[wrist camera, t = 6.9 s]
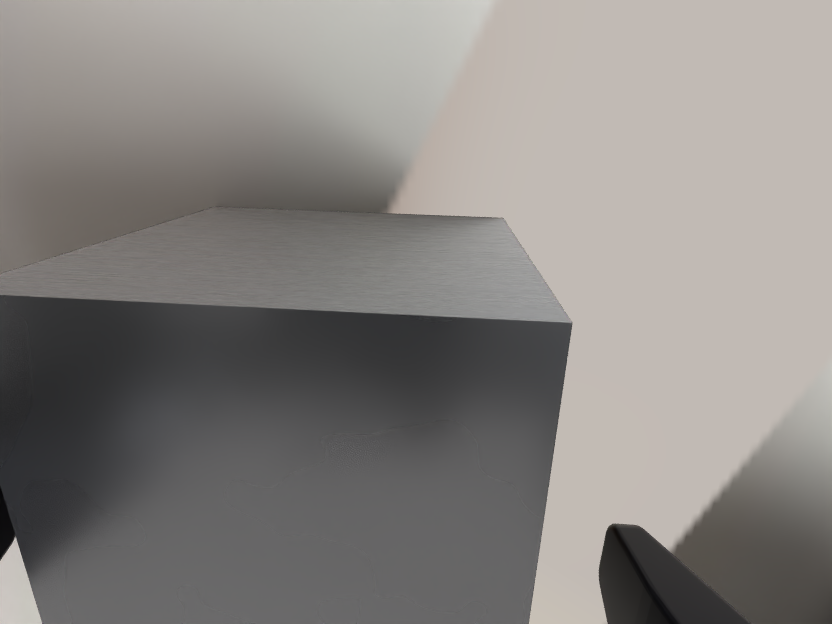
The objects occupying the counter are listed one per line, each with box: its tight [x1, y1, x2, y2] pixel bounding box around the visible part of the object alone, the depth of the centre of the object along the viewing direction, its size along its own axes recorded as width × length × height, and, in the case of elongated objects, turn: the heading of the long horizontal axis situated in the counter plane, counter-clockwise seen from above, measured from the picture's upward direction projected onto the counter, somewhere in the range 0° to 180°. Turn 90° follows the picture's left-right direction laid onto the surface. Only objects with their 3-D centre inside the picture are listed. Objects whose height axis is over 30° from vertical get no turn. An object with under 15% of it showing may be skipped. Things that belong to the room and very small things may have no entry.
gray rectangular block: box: [0, 207, 572, 624], centre depth 9 cm, size 6×8×6 cm
